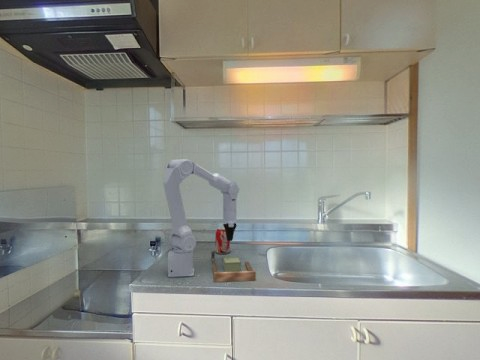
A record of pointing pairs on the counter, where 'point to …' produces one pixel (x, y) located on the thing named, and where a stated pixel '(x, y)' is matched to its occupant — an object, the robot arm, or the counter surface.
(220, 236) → the soda can
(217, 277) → the bay
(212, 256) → the crank handle
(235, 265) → the box
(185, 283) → the counter surface
